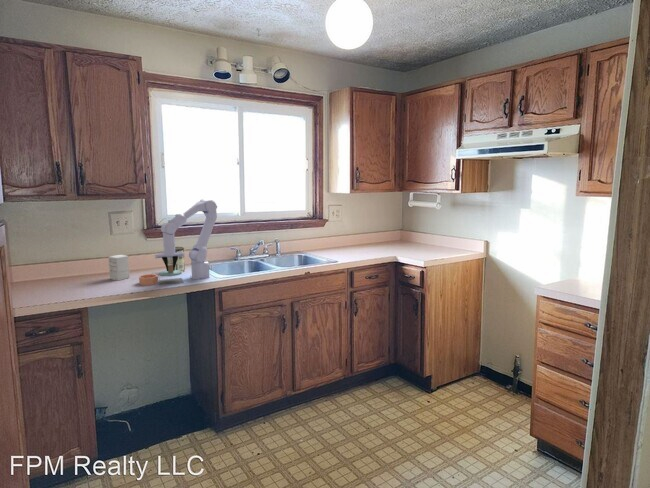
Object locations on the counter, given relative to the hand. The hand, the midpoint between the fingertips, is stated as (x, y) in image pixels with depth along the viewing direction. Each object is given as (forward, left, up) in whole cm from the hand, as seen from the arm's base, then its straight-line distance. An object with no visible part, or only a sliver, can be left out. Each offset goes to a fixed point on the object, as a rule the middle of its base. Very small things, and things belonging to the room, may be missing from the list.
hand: (170, 270), depth 226 cm
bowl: (+11, -1, -6) cm, 13 cm away
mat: (0, 0, -6) cm, 6 cm away
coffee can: (-5, -26, -7) cm, 27 cm away
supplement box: (+25, -19, -7) cm, 32 cm away
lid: (0, 0, -2) cm, 2 cm away
